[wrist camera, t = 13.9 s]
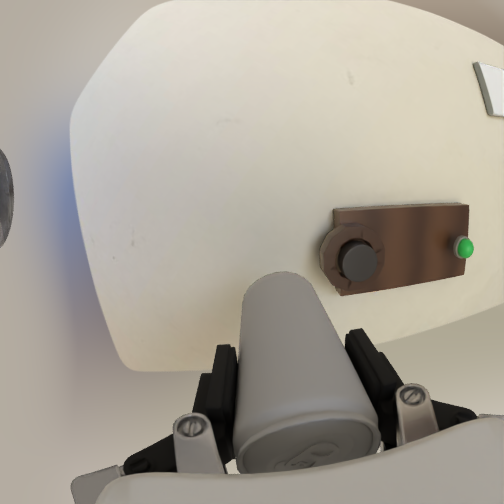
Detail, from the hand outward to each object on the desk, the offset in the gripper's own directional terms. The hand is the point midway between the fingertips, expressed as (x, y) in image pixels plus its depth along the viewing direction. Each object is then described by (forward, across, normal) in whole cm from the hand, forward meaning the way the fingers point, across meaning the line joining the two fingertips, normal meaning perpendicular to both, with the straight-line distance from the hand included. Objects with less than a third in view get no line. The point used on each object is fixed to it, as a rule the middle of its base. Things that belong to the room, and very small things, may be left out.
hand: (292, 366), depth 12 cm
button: (+15, -8, 0) cm, 17 cm away
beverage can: (+7, 0, 0) cm, 7 cm away
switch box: (+19, -15, 0) cm, 24 cm away
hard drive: (+19, -39, -22) cm, 49 cm away
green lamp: (+15, -22, 0) cm, 27 cm away
